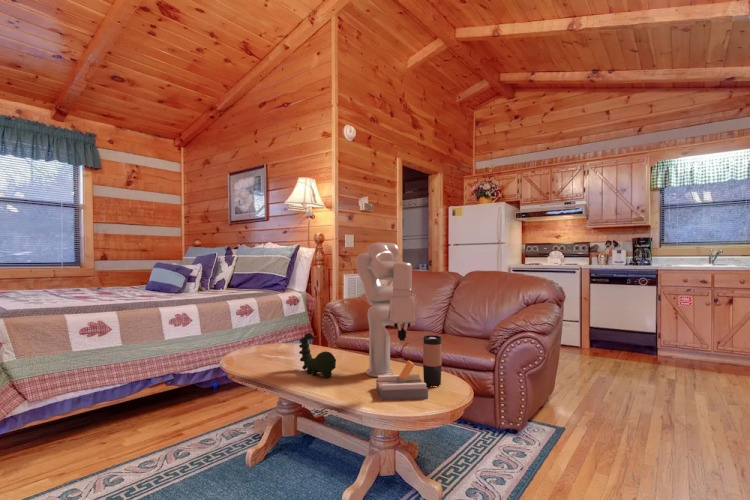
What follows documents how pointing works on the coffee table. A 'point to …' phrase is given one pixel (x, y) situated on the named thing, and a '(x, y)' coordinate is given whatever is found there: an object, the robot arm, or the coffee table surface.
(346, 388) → the coffee table surface
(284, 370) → the coffee table surface
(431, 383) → the travel mug
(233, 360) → the coffee table surface
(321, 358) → the toy figurine
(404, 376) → the breaker lever
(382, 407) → the coffee table surface
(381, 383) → the breaker block
